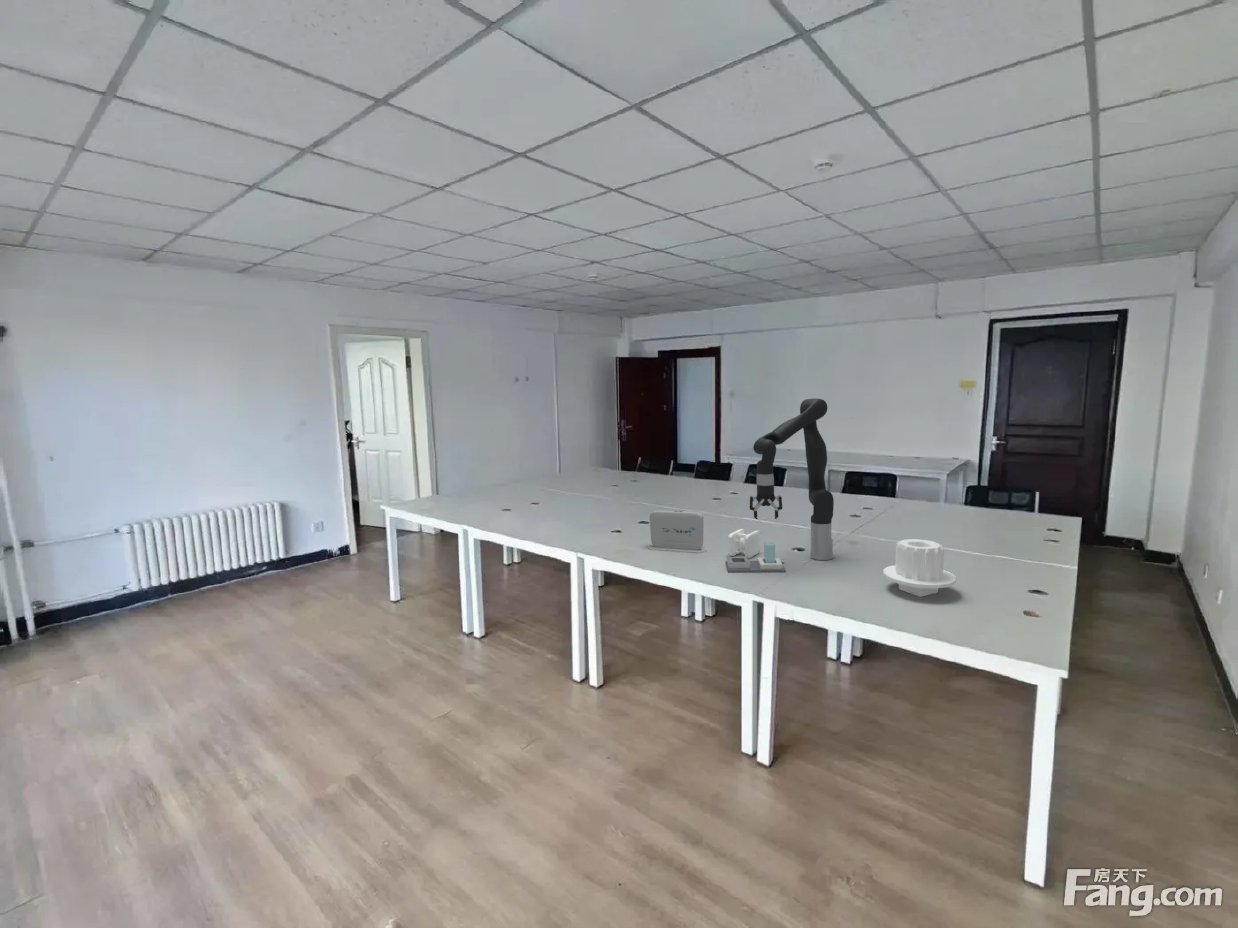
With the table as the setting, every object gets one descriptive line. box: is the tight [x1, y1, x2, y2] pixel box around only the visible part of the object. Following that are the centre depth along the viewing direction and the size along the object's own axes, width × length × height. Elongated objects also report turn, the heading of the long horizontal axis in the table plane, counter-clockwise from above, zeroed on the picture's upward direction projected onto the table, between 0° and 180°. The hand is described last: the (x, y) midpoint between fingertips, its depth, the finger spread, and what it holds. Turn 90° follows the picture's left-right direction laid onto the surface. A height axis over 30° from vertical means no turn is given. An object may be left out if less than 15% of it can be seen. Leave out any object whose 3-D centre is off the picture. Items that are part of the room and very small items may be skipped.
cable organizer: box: [727, 528, 761, 560], centre depth 278 cm, size 15×11×12 cm
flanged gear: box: [882, 538, 957, 598], centre depth 220 cm, size 25×25×19 cm
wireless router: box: [647, 509, 708, 554], centre depth 292 cm, size 31×10×20 cm, turn 68°
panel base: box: [724, 560, 786, 574], centre depth 258 cm, size 25×14×1 cm, turn 84°
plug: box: [763, 541, 776, 563], centre depth 257 cm, size 4×5×10 cm
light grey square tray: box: [756, 557, 783, 569], centre depth 257 cm, size 10×10×2 cm
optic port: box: [726, 556, 750, 569], centre depth 259 cm, size 10×10×3 cm
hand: (766, 518), depth 256 cm, fingers open, 8 cm apart
